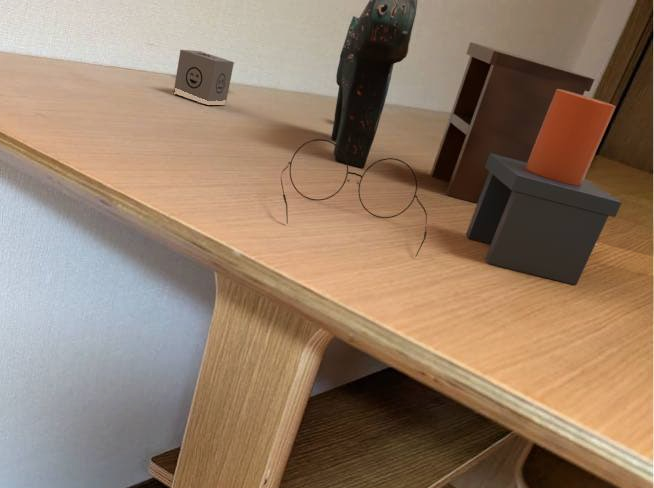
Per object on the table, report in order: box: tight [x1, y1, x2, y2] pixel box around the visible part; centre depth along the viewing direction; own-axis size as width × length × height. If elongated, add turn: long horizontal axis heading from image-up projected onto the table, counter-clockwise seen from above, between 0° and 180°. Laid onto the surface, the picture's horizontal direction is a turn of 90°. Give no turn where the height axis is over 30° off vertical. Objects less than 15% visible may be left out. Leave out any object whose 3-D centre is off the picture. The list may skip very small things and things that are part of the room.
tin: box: [525, 89, 617, 186], centre depth 67 cm, size 5×5×6 cm
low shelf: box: [465, 153, 623, 286], centre depth 70 cm, size 9×9×7 cm
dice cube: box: [173, 49, 235, 102], centre depth 103 cm, size 5×5×5 cm
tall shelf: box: [429, 41, 595, 204], centre depth 91 cm, size 11×11×14 cm
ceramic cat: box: [330, 0, 418, 169], centre depth 92 cm, size 20×6×20 cm, turn 176°
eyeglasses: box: [280, 138, 428, 257], centre depth 67 cm, size 11×13×5 cm
